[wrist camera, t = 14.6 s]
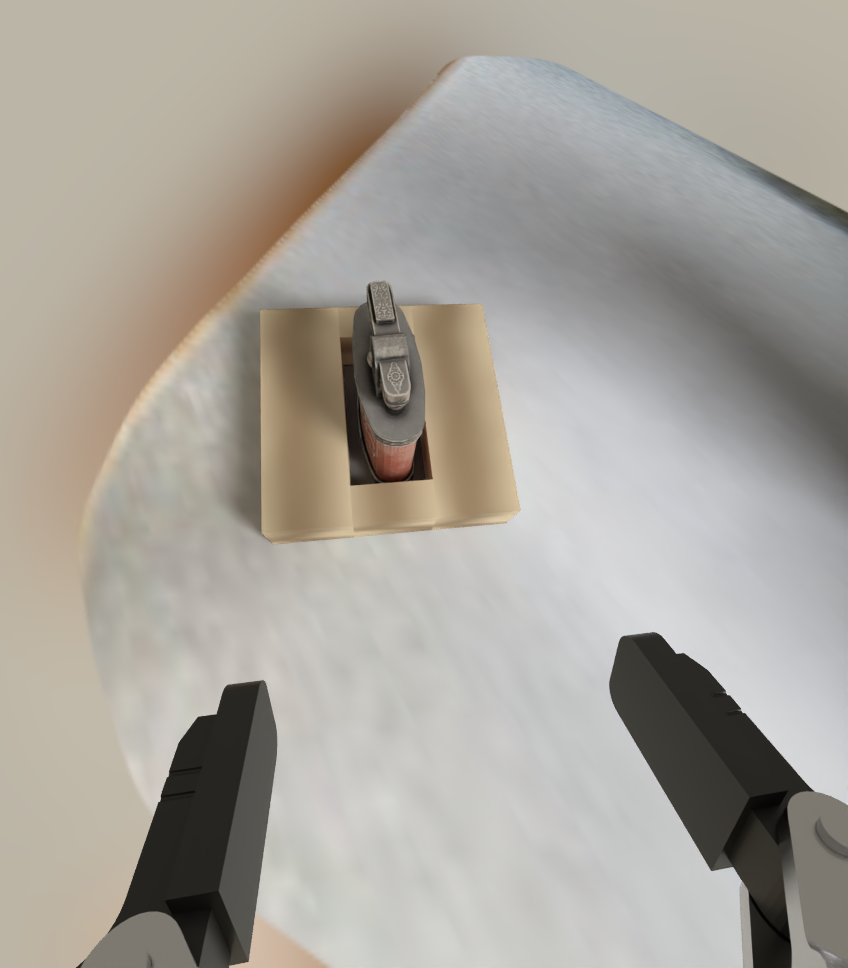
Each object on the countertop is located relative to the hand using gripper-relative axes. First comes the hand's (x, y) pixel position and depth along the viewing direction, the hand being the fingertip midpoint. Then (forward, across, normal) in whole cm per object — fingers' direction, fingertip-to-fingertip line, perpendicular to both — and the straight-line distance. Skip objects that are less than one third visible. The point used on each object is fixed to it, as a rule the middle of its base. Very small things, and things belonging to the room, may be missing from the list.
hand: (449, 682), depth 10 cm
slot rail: (+21, 0, +1) cm, 21 cm away
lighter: (+21, 0, +2) cm, 21 cm away
